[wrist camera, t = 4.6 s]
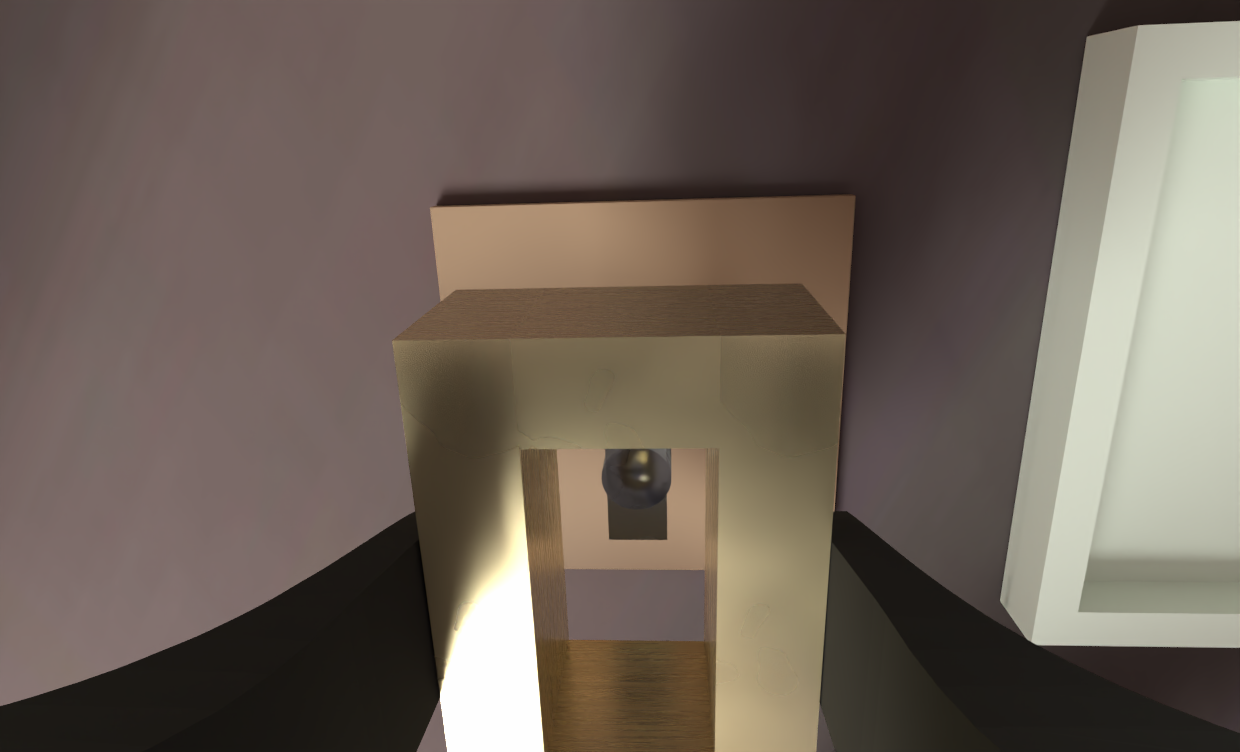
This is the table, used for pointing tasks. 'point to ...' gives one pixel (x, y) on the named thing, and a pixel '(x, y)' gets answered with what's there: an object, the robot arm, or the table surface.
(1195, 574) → the tray
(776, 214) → the stake base
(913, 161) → the table surface
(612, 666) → the gold hollow block
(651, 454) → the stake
